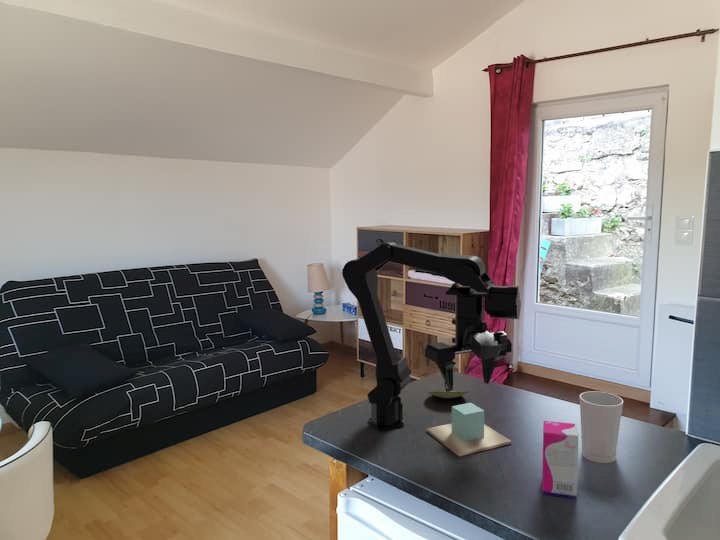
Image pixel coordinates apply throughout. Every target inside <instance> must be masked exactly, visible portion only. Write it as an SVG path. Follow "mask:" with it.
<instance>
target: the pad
mask: <svg viewBox="0 0 720 540" xmlns="http://www.w3.org/2000/svg"><path fill="white" fill-rule="evenodd" d="M426 432H427V433H428V434H430V435H431V436H432V437H433V438H435V439H436V440H437V441H439V442H440V443H441V444H443V445H444V446H445V447H446V448H448V449H449V450H450V451H451V452H453V453H454V454H455V455H457V456H458V457H463V456H467V455H471V454H475V453H478V452H479V453H480V452H482V451H487V450H491V449H495V448H499V447H503V446H507V445H512V440H511V439H509V438H507V437H506V436H504V435H502V434H501V433H499V432H498V431H496V430H494V429H492V427H490V426H488V425H487V424H485V423H484V437H483V438H478V439H474V440H470V441H465V442H464V441H463V440H461V439H460V438H459V437H457V436H456V435H455V434H453V433H452V422H451V423H446V424H442V425H437V426H432V427H428V428H426Z"/></svg>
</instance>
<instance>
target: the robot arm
mask: <svg viewBox="0 0 720 540" xmlns="http://www.w3.org/2000/svg"><path fill="white" fill-rule="evenodd" d="M389 262H391V263H395V264H399V265H402V266H403V265H404V266H408V267H411V268H415V269H420V270H423V271H427V272H432V273H435V274H438V275H440V276H442V277H444V278H445V279H446V280H448V281H451V282H453V283H452V285H451V286H450V287H449V288H448V289H447V290H446V291H445V295H446V296H447V295H448V296H454V297H455V299H454V300H455V301H454V303H455V304H454V305H455V312H454V313H455V314H454V315H455V317H454V318H452V319H451V324H452V325H455V327H454V329H455V330H454V331H455V333H454V337H451V343H453V344H455V345H449V344H447V343H445V342H442V341H440V342H439V341H438V342H432V343H428V344H427V345H426V346H425V348H424V357H425V358H427V359H429V360H430V361H432V362H434V363H435V364H436V366H437V368H438V370H439V372H440V373H441V375H442V378H443V380H444V383H446V388H447V389H449V390H450V391H454V388H453V387H454V367H455V366H456V364H457V362H455V361H454V360H455V358H456V355H461V354H467V353H468V354H469V353H474V354H475V355H476V357H477V358H478V359H479V360H481V369H482V371H481V372H482V377H483V383H484V384H486V385H489V383H490V381H491V379H492V375H493V373H494V370H495V367H496V366H497V363H498V362H499V361H500V360H501V359H503V358H504V357H506V356H507V355H508V353H512V352H513V343H512V340H511V339H510V338H508V335H507V333H506V332H505V331H503V330H502V331H496V332H490V331H489V329H488V324H487V321H484V313H486V315H489V318H494V319H510V320H519V319H520V316H521V315H520V314H521V307H522V306H521V305H522V300H521V298H520V289H519V288H520V286H518V285H496V284H495V282H494V281H493V280H492V279H491V277H490V276H489V274H488V273H487V271H486V265H485V263H484V261H483V260H482V259H481V258H480V257H478V256H476V255H468V254H467V255H465V254H443V253H442V254H440V253H437V252H432V251H428V250H424V249H420V248H415V247H412V246H406V245H403V244H398V243H395V242H394V241H388V242H387V241H386V242H383V243H380V244H379V245H378V247H376V248H374V249H373V250H371V251H369V252H368V253H367V254H366V253H365V254H364V255H363V256H361V257H359V258H355V259H352V260H349V261H347V262H346V263H345V264H344V266H343V268H342V270H341V274H342V278H343V280H344V282H345V285H346V286H347V288H348V290H349V292H351V294H352V295H353V296H354V297H355V299H356V300H357V302H358V307H359V308H360V312H361V314H362V319H363V322H364V324H365V328H366V331H367V333H368V337H369V341H370V343H371V346H372V347H371V348H372V351H373V353H374V356H375V371H374V373H375V381H376V386H375V387H374V388H372V390H370V391H369V392H368V393H367V399H368V402H369V403H370V407H371V408H370V409H371V410H370V412H371V416H370V417H369V418H368V422H370V424H371V425H372V426H374V427H375V428H376V429H377V430H378V431H386V430H390V429H396V428H401V427H404V426H405V422H403V420H404V410H403V409H404V407H403V406H404V404H403V403H402V397H400V395H401V394H402V392H403V391H404V390H405V389H406V388H407V386H408V385H409V384H410V382H411V375H412V373H413V372H412V371H411V369H410V368H409V364H408V363H409V362H408V359H407V357H406V356H404V357H402V358H401V357H400V356H399V355H398V353H397V352H396V350H395V346H394V344H393V341H392V337H391V335H390V331H389V327H388V325H387V321H386V318H385V314H384V311H383V308H382V305H381V301H380V299H379V295H378V287H379V286H378V285H379V283H378V282H379V278H378V277H379V276H378V272H377V271H379V270H380V269H382V268H383V267H384V266H386V265H387V264H388V263H389Z"/></svg>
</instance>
